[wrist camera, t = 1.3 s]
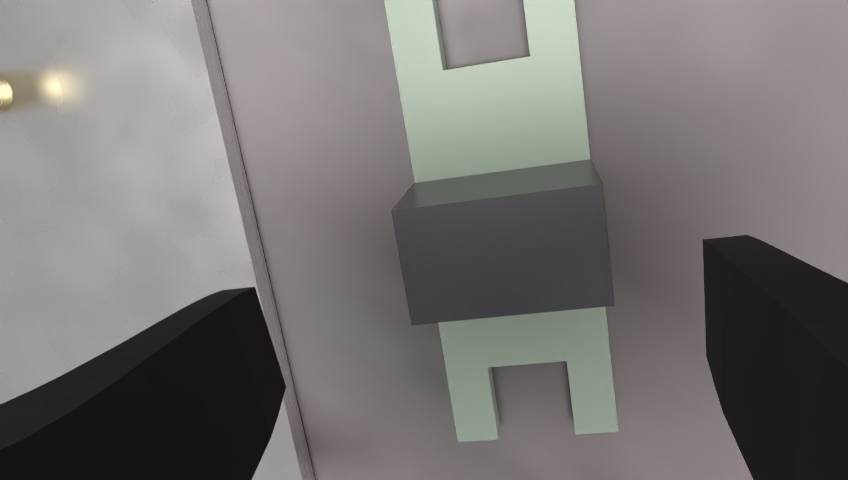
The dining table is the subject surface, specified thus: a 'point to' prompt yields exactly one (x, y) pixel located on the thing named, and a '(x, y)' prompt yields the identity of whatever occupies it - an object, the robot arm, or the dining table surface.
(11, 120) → the chassis
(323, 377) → the dining table surface
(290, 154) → the dining table surface
